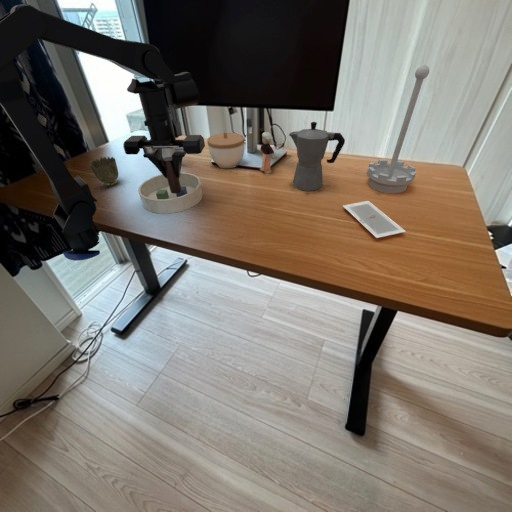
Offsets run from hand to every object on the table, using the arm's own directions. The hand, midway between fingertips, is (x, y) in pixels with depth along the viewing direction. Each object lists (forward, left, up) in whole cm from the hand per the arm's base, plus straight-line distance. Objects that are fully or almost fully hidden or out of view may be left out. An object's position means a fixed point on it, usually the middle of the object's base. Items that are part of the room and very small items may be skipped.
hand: (172, 177), depth 72 cm
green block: (+2, +5, -8) cm, 9 cm away
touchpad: (-8, -52, -8) cm, 53 cm away
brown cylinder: (0, 0, -4) cm, 4 cm away
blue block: (+4, 0, -8) cm, 8 cm away
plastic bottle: (+27, +9, -8) cm, 29 cm away
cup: (+12, +25, -8) cm, 29 cm away
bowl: (+3, +2, -8) cm, 9 cm away
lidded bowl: (+28, -11, -8) cm, 31 cm away
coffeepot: (+12, -39, -8) cm, 41 cm away
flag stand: (+12, -62, -8) cm, 63 cm away
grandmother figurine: (+22, -25, -8) cm, 34 cm away
